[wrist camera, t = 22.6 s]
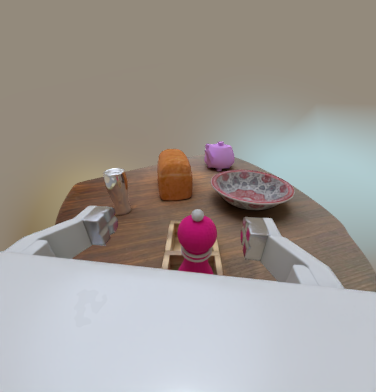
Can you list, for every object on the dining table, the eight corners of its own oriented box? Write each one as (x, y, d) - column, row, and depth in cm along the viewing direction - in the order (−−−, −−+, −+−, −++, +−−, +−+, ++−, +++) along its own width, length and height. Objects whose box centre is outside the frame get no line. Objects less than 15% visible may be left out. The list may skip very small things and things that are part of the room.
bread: (159, 202, 67) (155, 163, 59) (159, 176, 89) (156, 146, 82) (193, 199, 68) (194, 161, 61) (185, 175, 91) (184, 145, 83)
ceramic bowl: (202, 187, 78) (203, 171, 74) (261, 183, 82) (265, 168, 78) (223, 228, 53) (226, 207, 49) (307, 220, 56) (316, 199, 52)
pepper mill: (219, 307, 31) (233, 221, 22) (181, 319, 30) (178, 231, 20) (205, 274, 37) (211, 194, 28) (173, 282, 36) (167, 201, 26)
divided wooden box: (225, 328, 29) (230, 309, 27) (158, 327, 30) (154, 308, 27) (211, 237, 49) (213, 221, 46) (171, 237, 49) (170, 220, 46)
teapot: (191, 166, 103) (191, 141, 96) (213, 160, 114) (214, 137, 107) (215, 176, 90) (218, 147, 83) (237, 168, 101) (241, 142, 94)
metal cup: (129, 216, 58) (121, 175, 51) (109, 215, 59) (98, 175, 51) (135, 205, 65) (128, 167, 57) (117, 205, 65) (108, 167, 57)
